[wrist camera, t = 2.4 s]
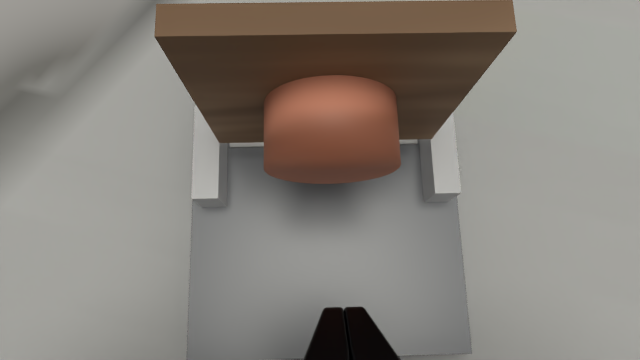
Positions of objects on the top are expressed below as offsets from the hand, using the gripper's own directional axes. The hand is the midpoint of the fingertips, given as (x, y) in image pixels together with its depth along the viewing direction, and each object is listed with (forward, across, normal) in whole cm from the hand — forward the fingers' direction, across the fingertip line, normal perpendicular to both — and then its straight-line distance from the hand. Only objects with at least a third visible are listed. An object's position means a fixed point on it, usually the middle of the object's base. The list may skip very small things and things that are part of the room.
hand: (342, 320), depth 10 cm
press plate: (+9, 0, +1) cm, 9 cm away
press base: (+11, 0, +4) cm, 11 cm away
